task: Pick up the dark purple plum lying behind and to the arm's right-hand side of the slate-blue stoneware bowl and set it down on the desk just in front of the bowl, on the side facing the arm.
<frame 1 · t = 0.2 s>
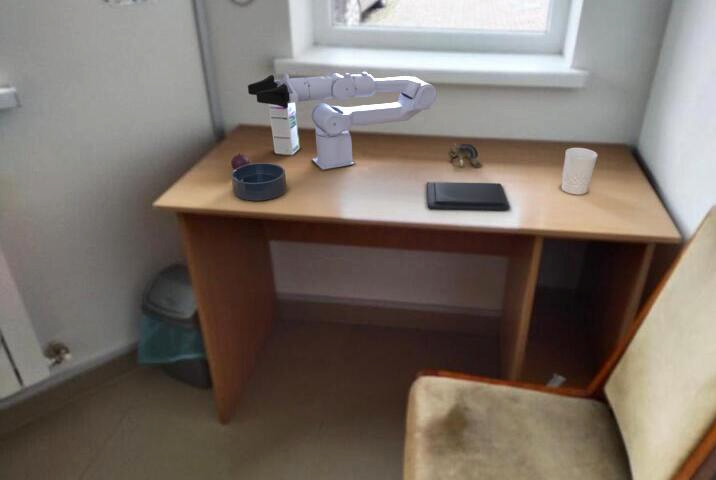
hand: (252, 93, 138), 21 cm above the table, tool horizontal, fingers open, 7 cm apart
wallet: (466, 198, 142), on the table
syrup box: (287, 151, 165), on the table
chipmunk toy: (463, 165, 160), on the table
plum: (241, 172, 151), on the table
white cup: (574, 190, 147), on the table
bowl: (260, 191, 141), on the table
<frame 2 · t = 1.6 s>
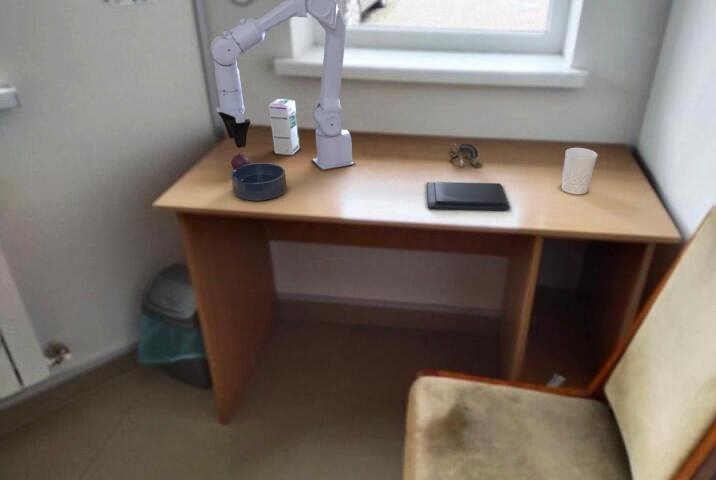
hand: (237, 142, 146), 8 cm above the table, tool pointing down, fingers open, 7 cm apart
nothing on the table moved.
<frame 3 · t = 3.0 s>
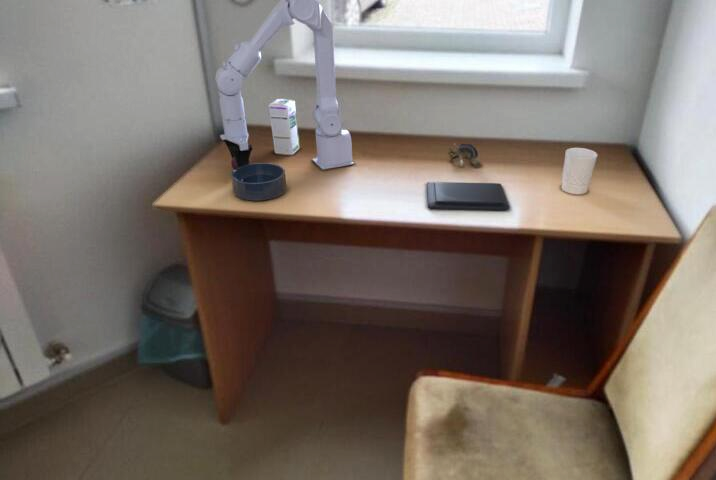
hand: (241, 167, 150), 1 cm above the table, tool pointing down, fingers closed on plum, 4 cm apart
plum: (241, 172, 151), on the table, touching gripper
everything else where it was.
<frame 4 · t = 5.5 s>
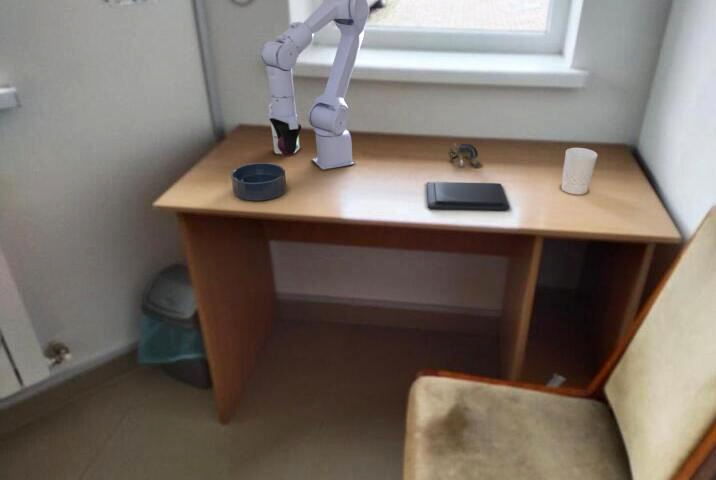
hand: (287, 148, 143), 8 cm above the table, tool pointing down, fingers closed on plum, 4 cm apart
plum: (288, 153, 144), point 7 cm above the table, touching gripper
everything else where it was.
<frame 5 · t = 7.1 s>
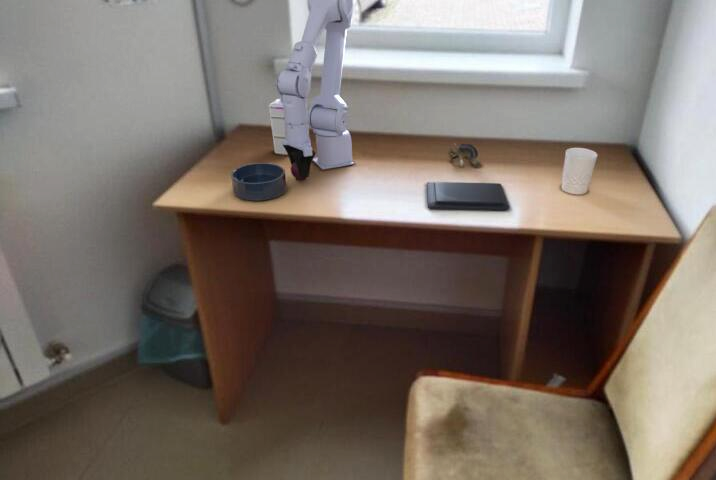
hand: (300, 173, 144), 3 cm above the table, tool pointing down, fingers closed on plum, 4 cm apart
plum: (301, 178, 145), point 1 cm above the table, touching gripper
everything else where it was.
when the fingers open (1 cm above the table, at t = 8.0 s): plum stays where it is, on the table.
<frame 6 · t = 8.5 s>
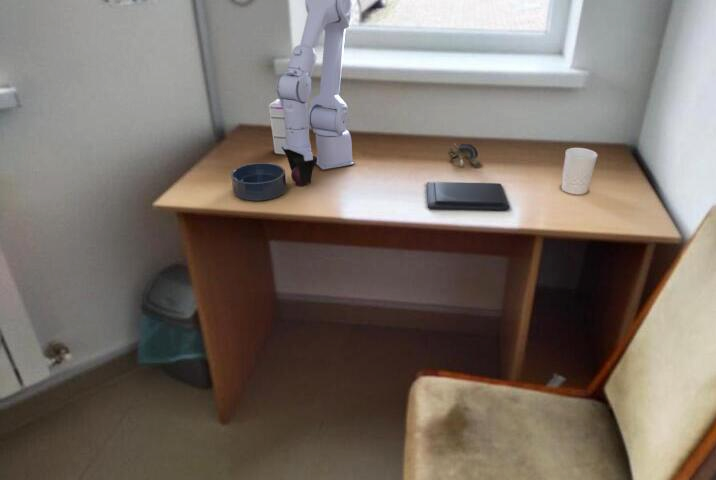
hand: (301, 177, 145), 2 cm above the table, tool pointing down, fingers open, 7 cm apart
plum: (301, 184, 146), on the table
everything else where it was.
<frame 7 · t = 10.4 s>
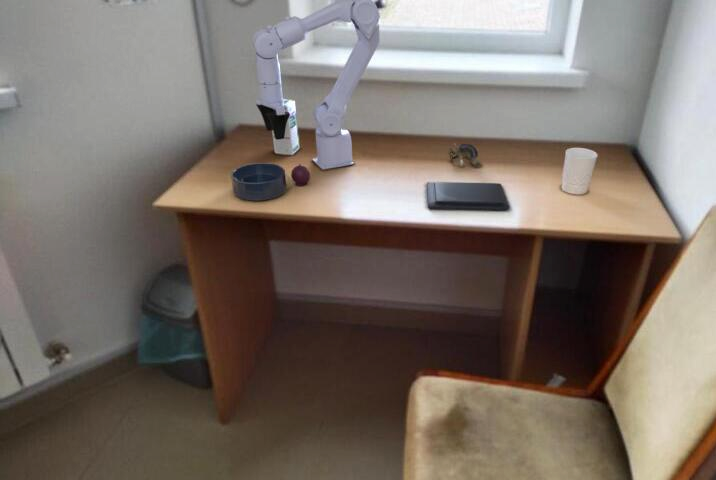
hand: (275, 134, 149), 9 cm above the table, tool pointing down, fingers open, 7 cm apart
nothing on the table moved.
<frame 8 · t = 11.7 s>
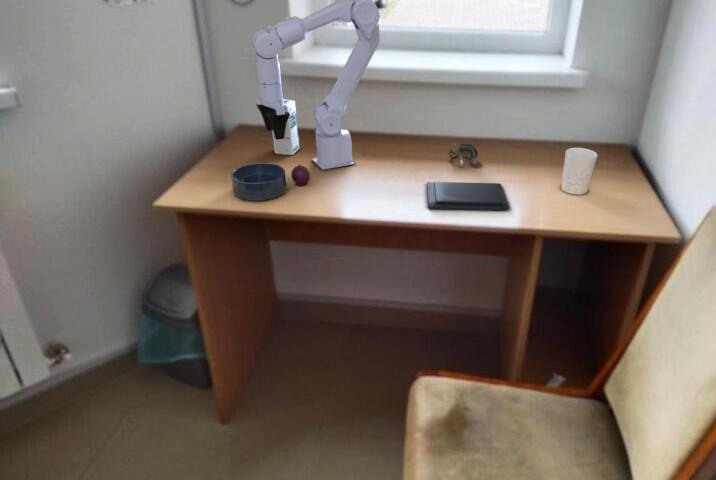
hand: (275, 134, 149), 9 cm above the table, tool pointing down, fingers open, 7 cm apart
nothing on the table moved.
at the end: plum inside the target area on the table beside the bowl (0.5 cm from its centre), on the table; the gripper is holding nothing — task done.
